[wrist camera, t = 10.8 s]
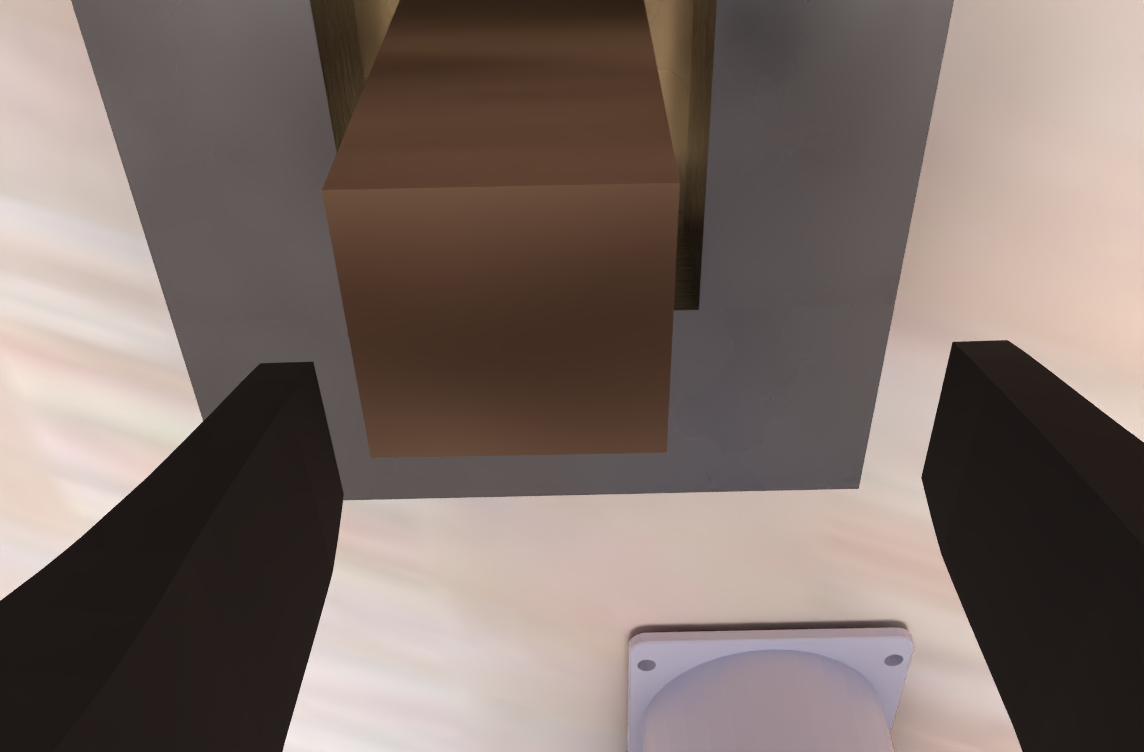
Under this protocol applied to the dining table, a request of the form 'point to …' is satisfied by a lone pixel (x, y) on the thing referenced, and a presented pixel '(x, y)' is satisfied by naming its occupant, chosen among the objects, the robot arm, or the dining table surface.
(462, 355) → the peg
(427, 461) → the block
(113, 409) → the dining table surface
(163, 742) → the robot arm
